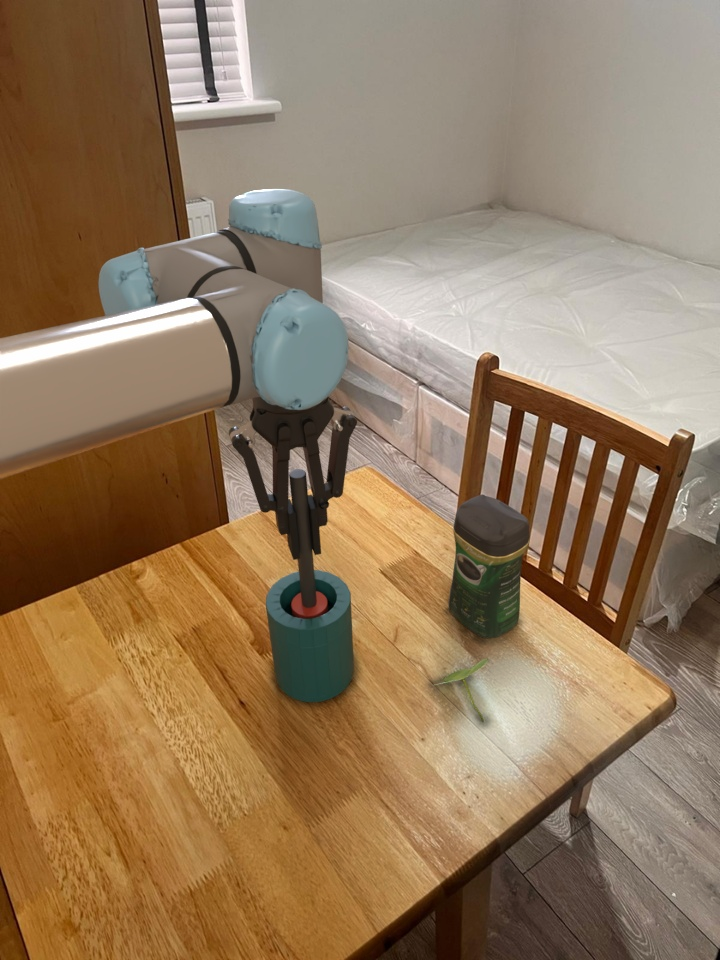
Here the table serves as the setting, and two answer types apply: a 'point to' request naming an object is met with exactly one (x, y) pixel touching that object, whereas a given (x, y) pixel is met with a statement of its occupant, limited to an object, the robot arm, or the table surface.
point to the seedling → (463, 674)
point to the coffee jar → (488, 565)
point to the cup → (311, 639)
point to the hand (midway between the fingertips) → (304, 549)
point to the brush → (305, 553)
